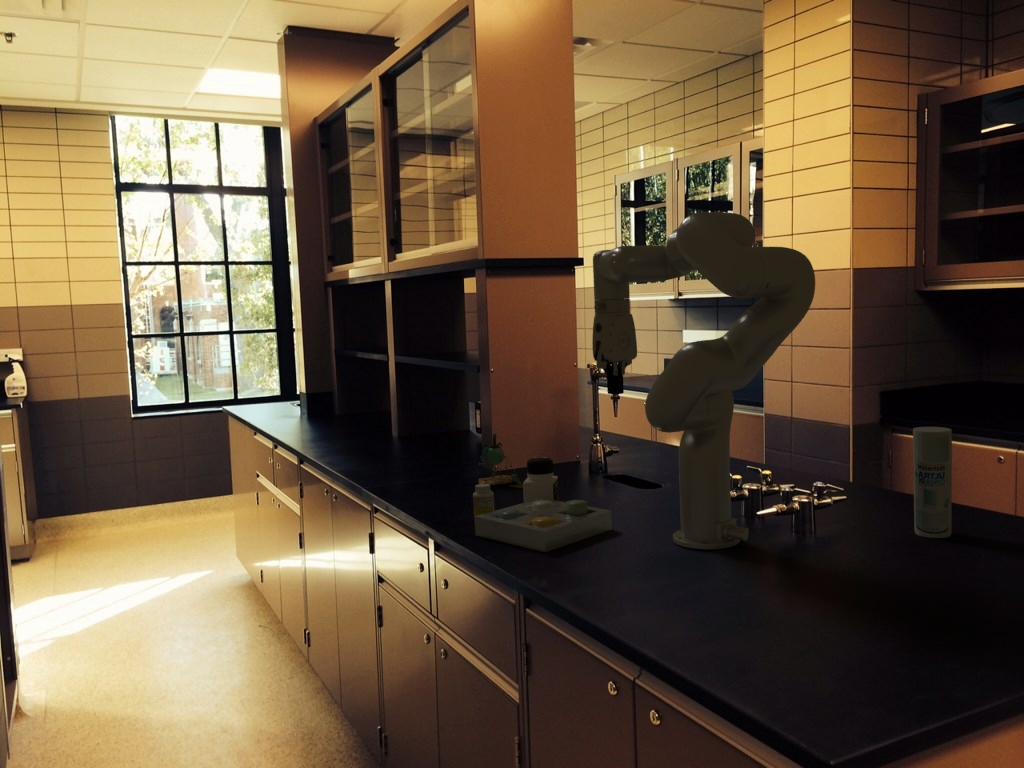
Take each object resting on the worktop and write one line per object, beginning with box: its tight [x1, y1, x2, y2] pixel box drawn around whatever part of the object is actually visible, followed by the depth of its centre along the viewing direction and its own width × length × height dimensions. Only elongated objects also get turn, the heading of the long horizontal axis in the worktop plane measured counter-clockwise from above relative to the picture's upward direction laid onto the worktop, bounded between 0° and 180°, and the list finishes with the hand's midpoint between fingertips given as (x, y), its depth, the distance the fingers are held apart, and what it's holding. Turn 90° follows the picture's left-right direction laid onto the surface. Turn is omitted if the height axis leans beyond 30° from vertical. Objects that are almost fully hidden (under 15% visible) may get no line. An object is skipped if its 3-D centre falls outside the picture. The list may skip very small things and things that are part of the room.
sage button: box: [565, 499, 588, 517], centre depth 170 cm, size 4×4×4 cm
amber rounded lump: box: [532, 517, 555, 528], centre depth 163 cm, size 4×4×4 cm
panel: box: [473, 498, 613, 553], centre depth 170 cm, size 20×20×4 cm
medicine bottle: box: [522, 456, 560, 503], centre depth 190 cm, size 7×7×12 cm
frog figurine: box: [478, 433, 523, 489], centre depth 221 cm, size 10×18×15 cm, turn 30°
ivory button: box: [532, 501, 552, 510], centre depth 177 cm, size 4×4×4 cm
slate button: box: [498, 510, 519, 520], centre depth 171 cm, size 4×4×4 cm
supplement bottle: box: [472, 483, 496, 522], centre depth 180 cm, size 5×5×8 cm
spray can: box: [912, 426, 953, 539], centre depth 155 cm, size 6×6×20 cm
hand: (615, 393), depth 178 cm, fingers closed
